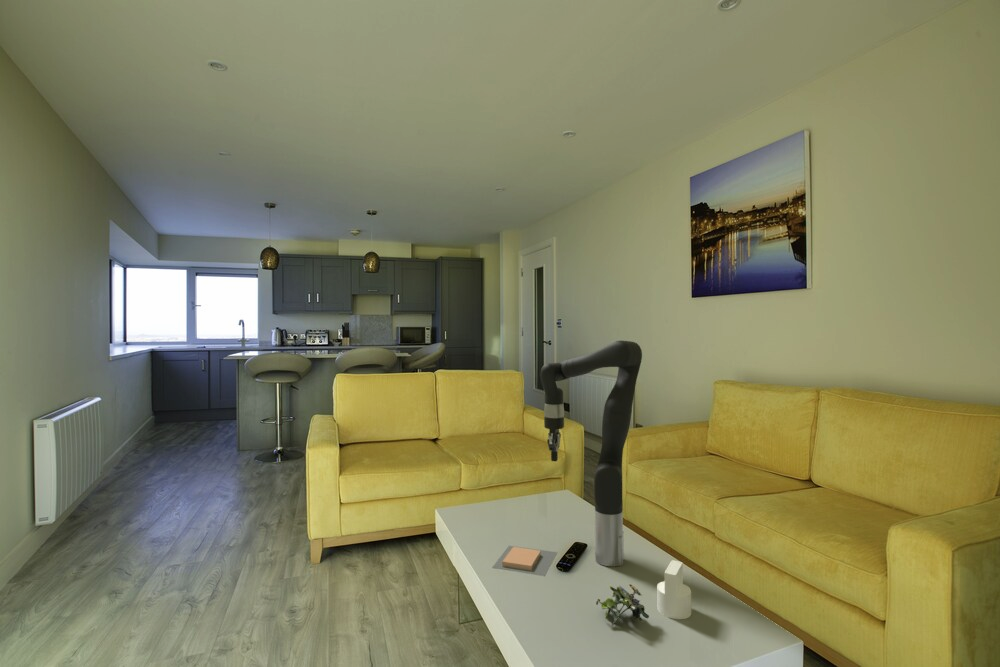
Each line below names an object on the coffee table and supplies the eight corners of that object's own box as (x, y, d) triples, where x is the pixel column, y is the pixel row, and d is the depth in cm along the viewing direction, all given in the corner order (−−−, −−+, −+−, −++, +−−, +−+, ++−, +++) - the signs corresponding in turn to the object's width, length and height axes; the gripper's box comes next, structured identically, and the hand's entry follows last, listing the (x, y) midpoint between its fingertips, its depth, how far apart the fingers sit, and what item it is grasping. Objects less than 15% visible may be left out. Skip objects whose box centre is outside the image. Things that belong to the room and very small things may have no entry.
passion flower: (635, 637, 137) (659, 611, 132) (607, 644, 131) (631, 617, 127) (613, 598, 146) (635, 572, 141) (585, 602, 140) (608, 576, 135)
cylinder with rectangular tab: (687, 622, 135) (687, 578, 135) (653, 613, 139) (653, 570, 139) (694, 607, 142) (693, 564, 142) (661, 598, 147) (661, 557, 147)
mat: (557, 553, 177) (557, 552, 177) (544, 577, 160) (544, 575, 160) (508, 546, 183) (508, 545, 183) (491, 568, 166) (491, 567, 166)
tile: (540, 550, 175) (531, 565, 164) (540, 555, 175) (531, 570, 164) (513, 546, 178) (502, 561, 167) (513, 551, 178) (502, 566, 167)
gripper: (559, 418, 184) (560, 466, 184) (567, 413, 197) (567, 457, 197) (540, 417, 187) (540, 464, 187) (548, 412, 199) (549, 455, 199)
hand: (554, 460), depth 192 cm, fingers closed
